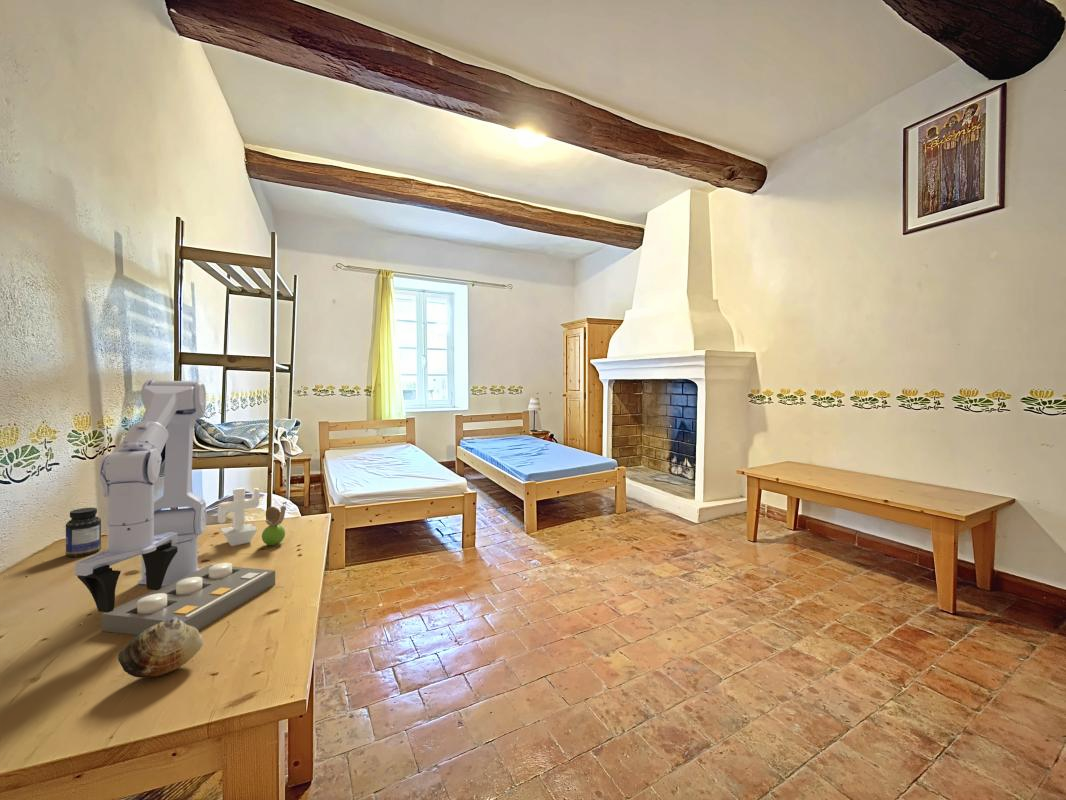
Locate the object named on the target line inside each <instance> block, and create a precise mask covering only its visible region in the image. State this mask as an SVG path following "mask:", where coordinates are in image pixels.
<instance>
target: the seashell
mask: <svg viewBox="0 0 1066 800" xmlns="http://www.w3.org/2000/svg"><path fill="white" fill-rule="evenodd" d="M199 631H200V630H197V629H196V628H195V627H192V626H189V625H187V624H185V623H184V622H182V621H181V620H180V619H178V618H177V617H172V618H169V619H167V620H165V621H163V622H160V623H158V624H156V625H154V626H152V627H150V628H148V629H147V630H145V631H144V632H142V633H141V634H139V635H136V637H135V638H134V639H133V640H132V641H131V642H129V643H128V644H127V645H126V646H124V648H122V649H121V650H120V651H119V653H118V655H117V660H118V662H119V664H120V666H121V667H122V670H123V671H124V672H125V673H126V674H127V675H129V676H131V677H133V678H134V677H135V678H139V679H140V678H155V677H160V676H164V675H167V674H169V673H171V672H174V671H175V670H177V669H178V668H181V667H182V666H184V665H185V664H186V663H188V662H189V661H190V660H191V659H192V658H194V657H195V656H196V655H197V653H199V651H200V650H201V648H202V647H203V646H204V638H203V636H202V634H201V633H200V632H199Z"/></svg>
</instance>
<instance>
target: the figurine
mask: <svg viewBox="0 0 1066 800" xmlns="http://www.w3.org/2000/svg"><path fill="white" fill-rule="evenodd" d="M251 493H252V496H251V498H246V497H245V496H246V488H245V487H237V488H233V489H232V496H233V500H231V501H225V502H224V501H223V502H221V503H219V504H218V507H217V523H219V524H224V523H225V522H226V515H227V513H231V512H232V513H233V526H228V527H223V528H222V527H221V528H220V530H221V532H222V533H223V535H224V537H225V539H226V541H227V543H228V544H229V545H230V547H234V546H238V545H243V544H248V543H251V541H252V540H253V538H254V536H255V535H256V534H257V533H256V532H257V531H258V528H257V527H256V526H255V525H254V524H253V522H252V523H246V522H245V519H246V518H245V515H246V510H252V509H255V508H258V507H259V505H260V489H259V488H258V487H254V488H253V489H252V492H251Z"/></svg>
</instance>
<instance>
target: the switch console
mask: <svg viewBox="0 0 1066 800" xmlns="http://www.w3.org/2000/svg"><path fill="white" fill-rule="evenodd" d="M213 565H214V564H209V565H207V566H205V567H202V568H199V569H200V570H198V571H196V572H194V573H191V574H189V575H187V576H185V577H182V578H180V579H178V580H176V581H174V582H171V583H169V584H167V585H165V586H161V589H159V590H151V591H150V592H147V593H145V594H143V595H140V596H138V597H136V598H134V599H132V600H129V601H128V602H125V603H122V604H121V605H118V606H115V607H114V609H113V611H111V612H108V613H107V612H102V613H101V632H108V633H117V634H123V635H124V634H126V635H133V636H138V635H139V634H141V633H142V632H144V631H145V630H147V629H148V628H150V627H152V626H154V625H156V624H158V623H160V622H163V621H165V620H167V619H169V618H172V617H177V618H178V619H180V620H181V621H182V622H184V623H185V624H187V625H189V626H192V627H195V628H196V629H197V630H198V631H201V630H202V629H204V628H205V627H207V626H208V625H210V624H211V623H214V622H215V621H216V620H219V619H220V618H221V617H223V616H225V615H226V614H228V613H230V612H231V611H234V609H236V608H238V607H240V606H241V605H243V604H245V603H246V602H248V601H249V600H251V599H253V598H255V597H256V596H259V594H261V593H262V592H263V593H264V592H265V591H266V590H268V589H269V588H271V587H273V586H274V585H276V570H275V569H264V568H251V567H239V566H238V567H237V566H232V574H231V575H229V576H227V577H225V578H223V579H221V580H218V579H209V568H210V567H211V566H213ZM190 577H201V578H202V589H201V590H199V591H197V592H196V593H194V594H192V595H190V596H183V595H176V583H177V582H179V581H181V580H183V579H186V578H190ZM158 593H165V594H167V607H166V608H164V609H162V610H160V611H158V612H156V613H154V614H152V615H141V614H137V601H138V600H140V599H141V598H143V597H146V596H149V595H153V594H158Z"/></svg>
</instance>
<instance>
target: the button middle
mask: <svg viewBox="0 0 1066 800" xmlns="http://www.w3.org/2000/svg"><path fill="white" fill-rule="evenodd" d="M201 589H202V578H201V577H190V578H186V579H183V580H181V581H179V582H177V583H176V595H183V596H190V595H192V594H194V593H196V592H197V591H199V590H201Z"/></svg>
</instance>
